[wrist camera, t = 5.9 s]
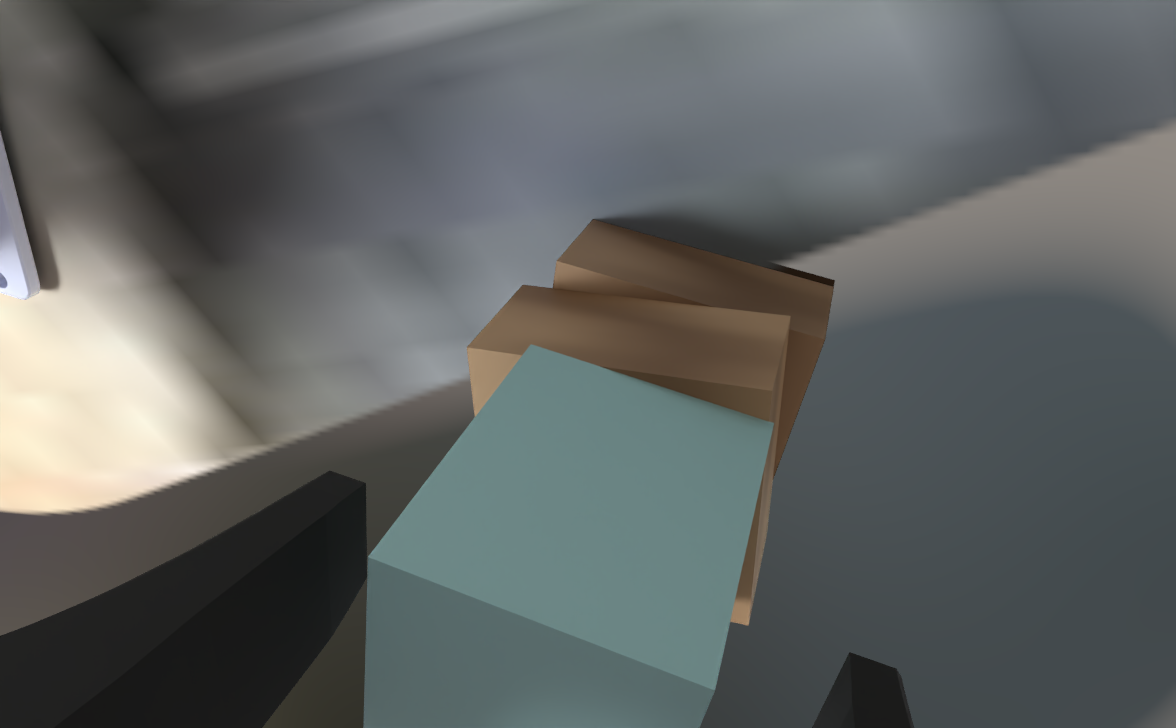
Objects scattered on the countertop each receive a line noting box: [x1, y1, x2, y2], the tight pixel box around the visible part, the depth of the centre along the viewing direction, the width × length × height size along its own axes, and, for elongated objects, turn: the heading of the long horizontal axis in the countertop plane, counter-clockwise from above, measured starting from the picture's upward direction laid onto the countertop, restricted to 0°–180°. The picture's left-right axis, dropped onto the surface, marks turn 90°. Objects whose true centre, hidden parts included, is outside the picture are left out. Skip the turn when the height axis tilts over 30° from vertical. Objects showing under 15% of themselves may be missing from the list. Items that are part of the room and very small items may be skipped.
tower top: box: [467, 285, 791, 625], centre depth 15 cm, size 5×5×2 cm
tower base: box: [553, 219, 835, 478], centre depth 17 cm, size 5×5×2 cm
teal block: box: [364, 344, 774, 728], centre depth 12 cm, size 4×4×5 cm
